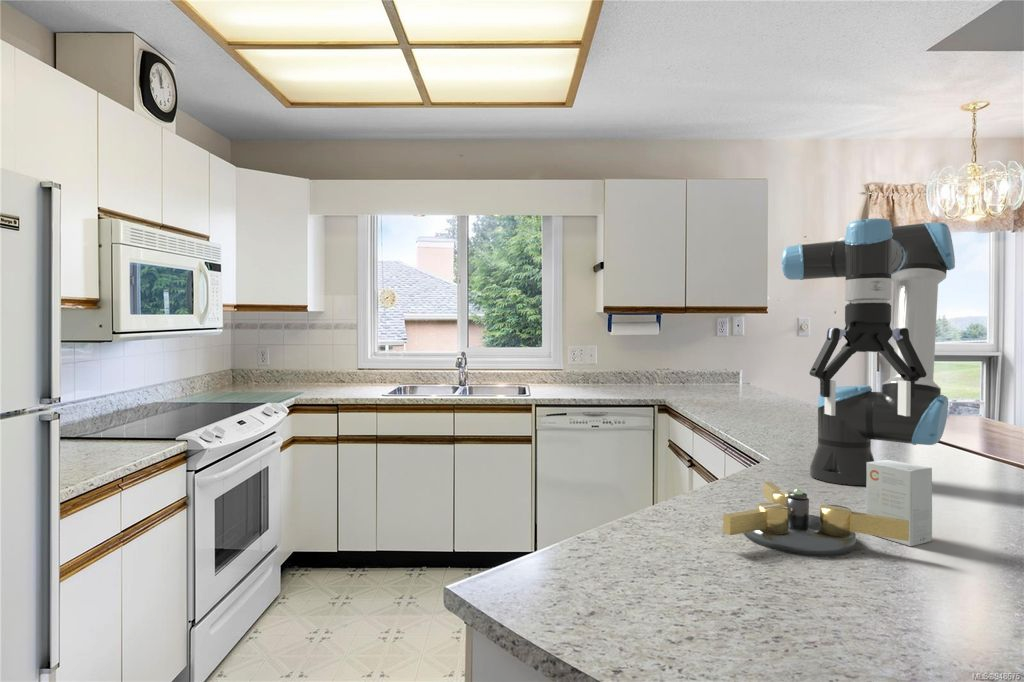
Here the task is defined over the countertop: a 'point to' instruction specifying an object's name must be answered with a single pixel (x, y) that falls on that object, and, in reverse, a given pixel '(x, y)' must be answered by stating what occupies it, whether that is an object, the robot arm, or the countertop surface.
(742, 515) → the knob
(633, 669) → the countertop surface
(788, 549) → the tribrach plate
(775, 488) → the knob
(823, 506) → the knob
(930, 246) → the robot arm
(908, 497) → the small box
